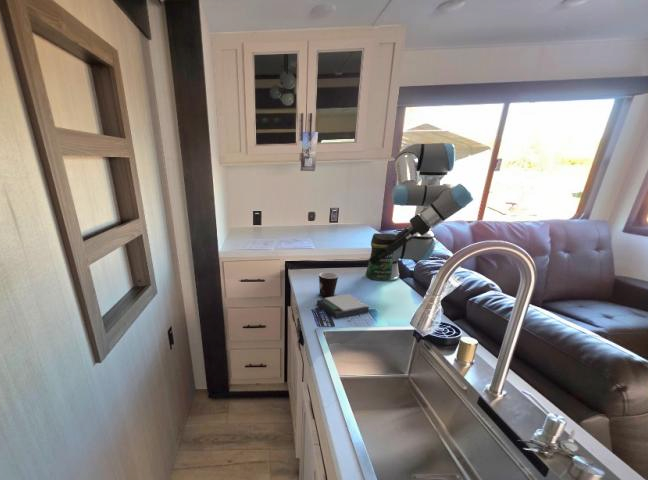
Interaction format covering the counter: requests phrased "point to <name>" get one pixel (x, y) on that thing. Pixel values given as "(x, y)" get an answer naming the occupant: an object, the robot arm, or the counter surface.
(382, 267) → the coffee jar
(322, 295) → the coffee mug
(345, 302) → the kitchen scale
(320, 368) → the counter surface
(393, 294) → the counter surface
